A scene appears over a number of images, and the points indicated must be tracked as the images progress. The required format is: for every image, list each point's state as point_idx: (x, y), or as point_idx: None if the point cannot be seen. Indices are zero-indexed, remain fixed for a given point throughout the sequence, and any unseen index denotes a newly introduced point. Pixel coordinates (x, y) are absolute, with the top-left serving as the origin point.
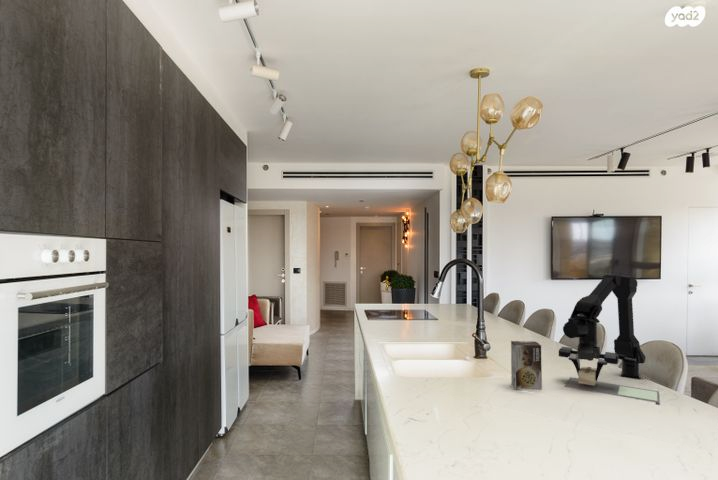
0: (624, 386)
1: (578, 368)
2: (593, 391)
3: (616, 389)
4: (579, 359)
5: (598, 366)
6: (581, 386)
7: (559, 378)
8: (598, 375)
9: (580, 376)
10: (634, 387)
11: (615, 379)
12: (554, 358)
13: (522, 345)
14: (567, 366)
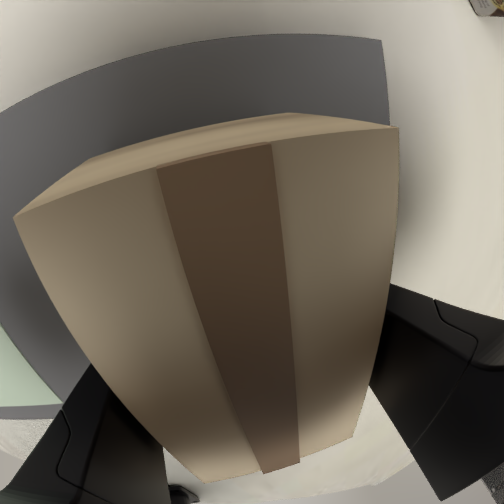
0: (51, 409)
1: (413, 317)
2: (88, 72)
3: (15, 326)
4: (427, 476)
5: (49, 501)
6: None
7: (418, 283)
8: (89, 365)
9: (309, 118)
10: (24, 418)
11: (172, 465)
12: (397, 443)
13: None
14: (370, 436)
